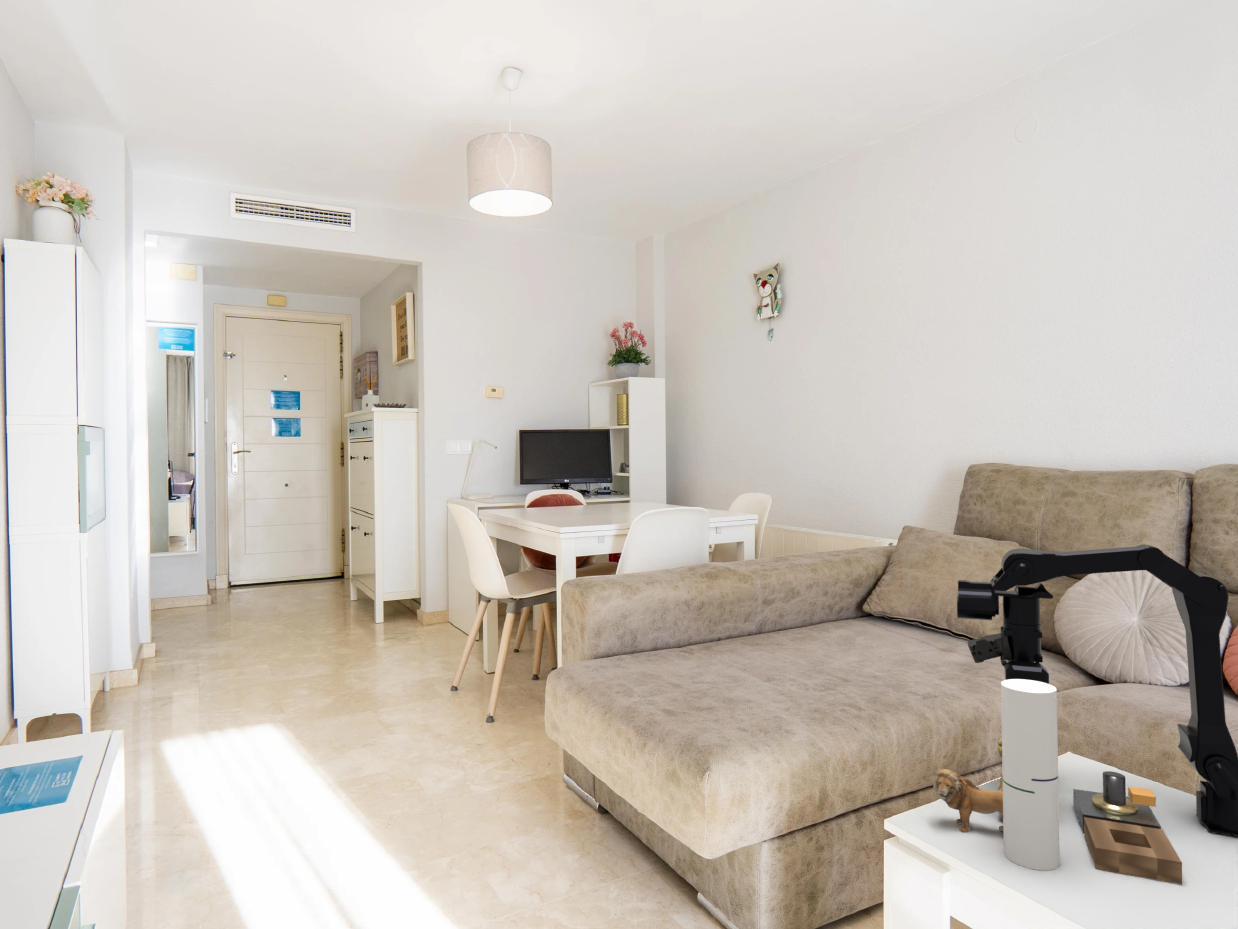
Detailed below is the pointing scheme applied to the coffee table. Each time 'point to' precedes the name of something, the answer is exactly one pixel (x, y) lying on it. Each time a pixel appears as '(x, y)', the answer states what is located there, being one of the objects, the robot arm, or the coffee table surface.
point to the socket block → (1087, 809)
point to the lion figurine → (966, 797)
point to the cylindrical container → (1030, 773)
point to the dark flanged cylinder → (1114, 795)
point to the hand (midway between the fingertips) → (1023, 712)
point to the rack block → (1132, 850)
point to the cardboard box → (1141, 796)
